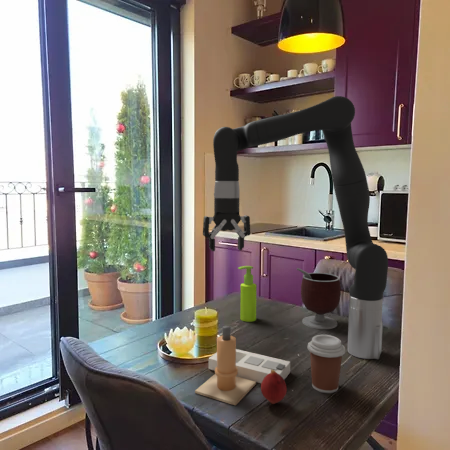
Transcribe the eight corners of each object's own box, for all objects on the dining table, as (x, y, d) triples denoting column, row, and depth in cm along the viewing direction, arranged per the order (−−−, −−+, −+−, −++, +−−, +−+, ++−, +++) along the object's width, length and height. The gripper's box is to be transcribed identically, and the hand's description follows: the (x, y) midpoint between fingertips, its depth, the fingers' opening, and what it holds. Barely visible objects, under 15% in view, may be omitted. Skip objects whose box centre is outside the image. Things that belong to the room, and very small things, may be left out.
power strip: (290, 372, 104) (290, 360, 103) (277, 387, 96) (278, 374, 96) (224, 356, 113) (224, 345, 113) (208, 369, 106) (208, 357, 105)
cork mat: (255, 384, 98) (255, 381, 98) (235, 405, 88) (235, 403, 88) (217, 373, 103) (217, 371, 103) (195, 392, 93) (195, 390, 93)
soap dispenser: (235, 317, 146) (235, 265, 144) (252, 315, 149) (253, 264, 146) (240, 322, 141) (241, 268, 139) (258, 320, 143) (259, 267, 141)
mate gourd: (336, 317, 147) (338, 265, 145) (342, 331, 133) (344, 274, 131) (295, 315, 149) (296, 264, 147) (296, 328, 135) (297, 272, 133)
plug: (241, 383, 97) (242, 325, 95) (230, 394, 92) (231, 333, 90) (222, 377, 99) (222, 321, 98) (210, 387, 95) (210, 328, 93)
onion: (283, 396, 92) (284, 363, 91) (288, 410, 86) (289, 376, 86) (259, 396, 92) (259, 364, 91) (262, 410, 86) (262, 376, 85)
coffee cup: (339, 400, 91) (341, 350, 89) (301, 389, 95) (302, 342, 94) (347, 382, 99) (349, 337, 97) (312, 374, 103) (313, 330, 102)
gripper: (206, 197, 110) (206, 253, 112) (253, 196, 114) (253, 251, 116) (200, 196, 117) (200, 249, 119) (245, 196, 121) (245, 247, 123)
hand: (226, 250), depth 117 cm, fingers open, 8 cm apart
